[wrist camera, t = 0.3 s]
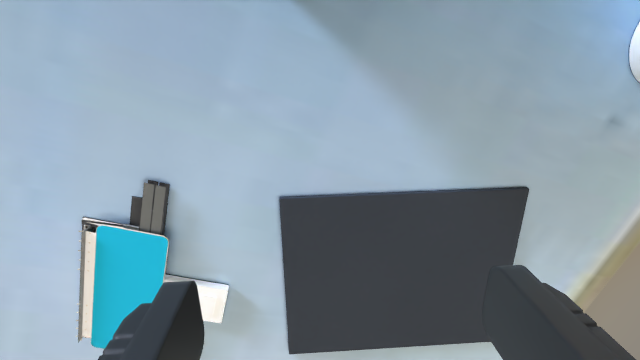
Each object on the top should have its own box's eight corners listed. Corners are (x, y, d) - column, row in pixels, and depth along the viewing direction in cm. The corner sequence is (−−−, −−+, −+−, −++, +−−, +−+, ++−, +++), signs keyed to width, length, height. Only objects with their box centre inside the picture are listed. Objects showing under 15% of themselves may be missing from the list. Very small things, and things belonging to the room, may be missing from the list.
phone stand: (209, 382, 34) (204, 398, 33) (78, 365, 33) (67, 381, 31) (247, 200, 28) (244, 209, 26) (84, 166, 26) (71, 174, 24)
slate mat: (279, 196, 28) (279, 198, 27) (526, 187, 29) (529, 188, 28) (289, 351, 33) (289, 354, 33) (494, 338, 34) (496, 341, 34)
